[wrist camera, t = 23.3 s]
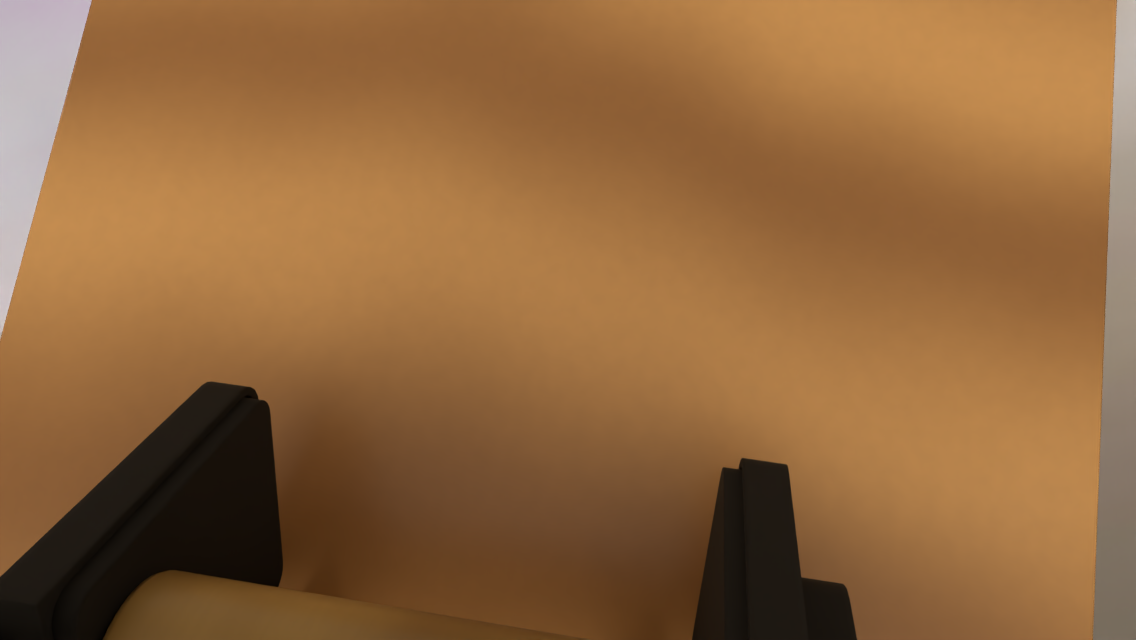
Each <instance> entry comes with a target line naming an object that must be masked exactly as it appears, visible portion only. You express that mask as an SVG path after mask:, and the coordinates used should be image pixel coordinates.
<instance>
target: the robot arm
mask: <svg viewBox="0 0 1136 640" xmlns="http://www.w3.org/2000/svg"><path fill="white" fill-rule="evenodd" d="M168 570H178V571H184V572H190V573H196V574H202V575H208V576H214V577H220V578H226V579H232V580H238V581H244V582H250V583H256V584H262V585H268V586H274V587H278V586H279V584H280V581H281V577H282V571H283V555H282V543H281V531H280V520H279V508H278V496H277V485H276V473H275V461H274V449H273V438H272V426H271V414H270V408H269V405H268V403H267V402H266V401H265V400H259V399H258V395H257V393H256V391H255V389H253V388H252V387H247V386H240V385H233V384H226V383H219V382H212V381H211V382H206V383H204V384H203V385H201V386H200V387H199V388H198V389H197V390H196V391H195V392H194V393H193V394H192V395H191V396H190V397H189V398H188V399H187V400H186V401H185V402H184V403H182V404H181V405H180V406H179V407H178V408H177V409H176V410H175V411H174V412H173V413H172V414H171V415H170V416H169V417H168V418H167V419H166V420H165V421H164V422H163V423H161V424H160V425H159V426H158V427H157V428H156V429H155V430H154V431H153V432H152V433H151V434H150V435H149V436H148V437H147V438H146V439H145V440H144V441H143V442H141V443H140V444H139V445H138V446H137V447H136V448H135V449H134V450H133V451H132V452H131V453H130V454H129V455H128V456H127V457H126V458H125V459H124V460H123V461H121V462H120V463H119V464H118V465H117V466H116V467H115V468H114V469H113V470H112V471H111V472H110V473H109V474H108V475H107V476H106V477H105V478H104V479H103V480H101V481H100V482H99V483H98V484H97V485H96V486H95V487H94V488H93V489H92V490H91V491H90V492H89V493H88V494H87V495H86V496H85V497H84V498H83V499H82V500H80V501H79V502H78V503H77V504H76V505H75V506H74V507H73V508H72V509H71V510H70V511H69V512H68V513H67V514H66V515H65V516H64V517H63V518H62V519H60V520H59V521H58V522H57V523H56V524H55V525H54V526H53V527H52V528H51V529H50V530H49V531H48V532H47V533H46V534H45V535H44V536H43V537H42V538H40V539H39V540H38V541H37V542H36V543H35V544H34V545H33V546H32V547H31V548H30V549H29V550H28V551H27V552H26V553H25V554H24V555H23V556H22V557H21V558H19V559H18V560H17V561H16V562H15V563H14V564H13V565H12V566H11V567H10V568H9V569H8V570H7V571H6V572H5V573H4V574H3V575H2V576H1V577H0V640H103V638H104V636H105V634H106V631H107V629H108V627H109V625H110V624H111V622H112V620H113V618H114V616H115V615H116V613H117V612H118V610H119V609H120V607H121V605H122V604H123V603H124V601H125V600H126V599H127V597H128V596H129V595H130V594H131V593H132V592H133V591H134V589H135V588H136V587H137V586H139V585H140V584H141V583H142V582H143V581H144V580H146V579H147V578H149V577H150V576H152V575H154V574H156V573H160V572H164V571H168ZM692 640H857V636H856V631H855V625H854V620H853V614H852V609H851V603H850V598H849V594H848V591H847V588H846V587H845V585H844V584H842V583H835V582H829V581H822V580H816V579H810V578H803V577H801V570H800V561H799V553H798V544H797V536H796V527H795V519H794V510H793V502H792V493H791V485H790V476H789V469H788V465H787V464H782V463H775V462H768V461H761V460H754V459H747V458H742V459H741V460H740V464H739V468H738V469H733V468H726V467H723V468H722V471H721V476H720V481H719V487H718V493H717V498H716V504H715V510H714V515H713V521H712V527H711V532H710V538H709V544H708V550H707V555H706V561H705V567H704V572H703V578H702V584H701V589H700V595H699V601H698V606H697V612H696V618H695V624H694V629H693V636H692Z"/></svg>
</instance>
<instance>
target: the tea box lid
mask: <svg viewBox="0 0 1136 640" xmlns="http://www.w3.org/2000/svg"><path fill="white" fill-rule="evenodd" d="M1116 8H1117V0H92V2H91V6H90V10H89V13H88V17H87V21H86V25H85V28H84V32H83V36H82V39H81V43H80V47H79V50H78V54H77V58H76V62H75V65H74V69H73V73H72V76H71V80H70V84H69V87H68V91H67V95H66V99H65V102H64V106H63V110H62V113H61V117H60V121H59V124H58V128H57V132H56V136H55V139H54V143H53V147H52V150H51V154H50V158H49V161H48V165H47V169H46V173H45V176H44V180H43V184H42V187H41V191H40V195H39V198H38V202H37V206H36V210H35V213H34V217H33V221H32V224H31V228H30V232H29V235H28V239H27V243H26V247H25V250H24V254H23V258H22V261H21V265H20V269H19V272H18V276H17V280H16V284H15V287H14V291H13V295H12V298H11V302H10V306H9V309H8V313H7V317H6V321H5V324H4V328H3V332H2V335H1V339H0V577H1V576H2V575H3V574H4V573H5V572H6V571H7V570H8V569H9V568H10V567H11V566H12V565H13V564H14V563H15V562H16V561H17V560H18V559H19V558H21V557H22V556H23V555H24V554H25V553H26V552H27V551H28V550H29V549H30V548H31V547H32V546H33V545H34V544H35V543H36V542H37V541H38V540H39V539H40V538H42V537H43V536H44V535H45V534H46V533H47V532H48V531H49V530H50V529H51V528H52V527H53V526H54V525H55V524H56V523H57V522H58V521H59V520H60V519H62V518H63V517H64V516H65V515H66V514H67V513H68V512H69V511H70V510H71V509H72V508H73V507H74V506H75V505H76V504H77V503H78V502H79V501H80V500H82V499H83V498H84V497H85V496H86V495H87V494H88V493H89V492H90V491H91V490H92V489H93V488H94V487H95V486H96V485H97V484H98V483H99V482H100V481H101V480H103V479H104V478H105V477H106V476H107V475H108V474H109V473H110V472H111V471H112V470H113V469H114V468H115V467H116V466H117V465H118V464H119V463H120V462H121V461H123V460H124V459H125V458H126V457H127V456H128V455H129V454H130V453H131V452H132V451H133V450H134V449H135V448H136V447H137V446H138V445H139V444H140V443H141V442H143V441H144V440H145V439H146V438H147V437H148V436H149V435H150V434H151V433H152V432H153V431H154V430H155V429H156V428H157V427H158V426H159V425H160V424H161V423H163V422H164V421H165V420H166V419H167V418H168V417H169V416H170V415H171V414H172V413H173V412H174V411H175V410H176V409H177V408H178V407H179V406H180V405H181V404H182V403H184V402H185V401H186V400H187V399H188V398H189V397H190V396H191V395H192V394H193V393H194V392H195V391H196V390H197V389H198V388H199V387H200V386H201V385H203V384H204V383H206V382H211V381H212V382H219V383H226V384H233V385H240V386H247V387H252V388H253V389H255V391H256V393H257V395H258V399H259V400H265V401H266V402H267V403H268V405H269V408H270V414H271V426H272V438H273V449H274V461H275V473H276V485H277V496H278V508H279V520H280V531H281V543H282V555H283V571H282V577H281V581H280V584H279V586H278V587H274V586H268V585H262V584H256V583H250V582H244V581H238V580H232V579H226V578H220V577H214V576H208V575H202V574H196V573H190V572H184V571H178V570H168V571H164V572H160V573H156V574H154V575H152V576H150V577H149V578H147V579H146V580H144V581H143V582H142V583H141V584H140V585H139V586H137V587H136V588H135V589H134V591H133V592H132V593H131V594H130V595H129V596H128V597H127V599H126V600H125V601H124V603H123V604H122V605H121V607H120V609H119V610H118V612H117V613H116V615H115V616H114V618H113V620H112V622H111V624H110V625H109V627H108V629H107V631H106V634H105V636H104V638H103V640H692V636H693V629H694V624H695V618H696V612H697V606H698V601H699V595H700V589H701V584H702V578H703V572H704V567H705V561H706V555H707V550H708V544H709V538H710V532H711V527H712V521H713V515H714V510H715V504H716V498H717V493H718V487H719V481H720V476H721V471H722V468H723V467H726V468H733V469H738V468H739V464H740V460H741V459H742V458H747V459H754V460H761V461H768V462H775V463H782V464H787V465H788V469H789V476H790V485H791V493H792V502H793V510H794V519H795V527H796V536H797V544H798V553H799V561H800V570H801V577H803V578H810V579H816V580H822V581H829V582H835V583H842V584H844V585H845V587H846V588H847V591H848V594H849V598H850V603H851V609H852V614H853V620H854V625H855V631H856V636H857V640H1093V619H1094V593H1095V566H1096V539H1097V513H1098V486H1099V460H1100V433H1101V407H1102V380H1103V353H1104V327H1105V300H1106V274H1107V247H1108V220H1109V194H1110V167H1111V141H1112V114H1113V88H1114V61H1115V34H1116Z"/></svg>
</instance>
